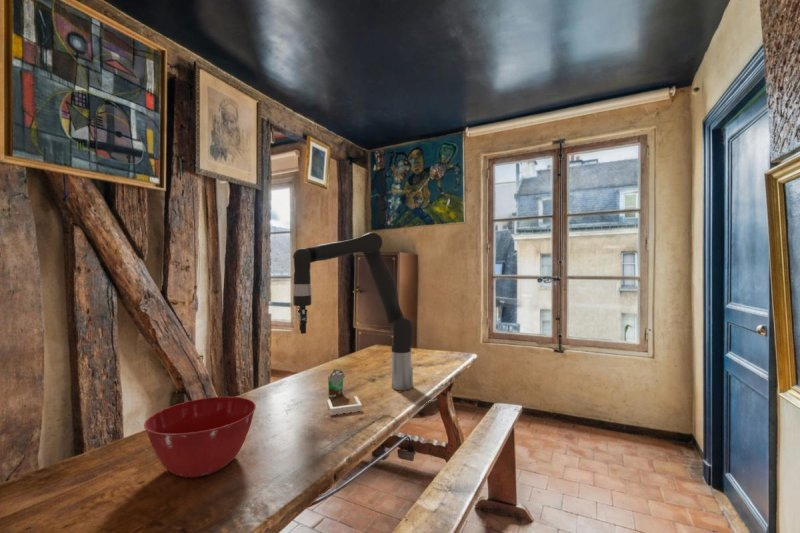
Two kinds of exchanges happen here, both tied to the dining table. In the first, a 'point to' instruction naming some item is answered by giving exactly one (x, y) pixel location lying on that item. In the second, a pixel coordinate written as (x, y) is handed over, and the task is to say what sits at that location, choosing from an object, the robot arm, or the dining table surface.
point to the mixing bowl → (200, 434)
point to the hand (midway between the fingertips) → (302, 331)
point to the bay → (345, 407)
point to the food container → (336, 383)
